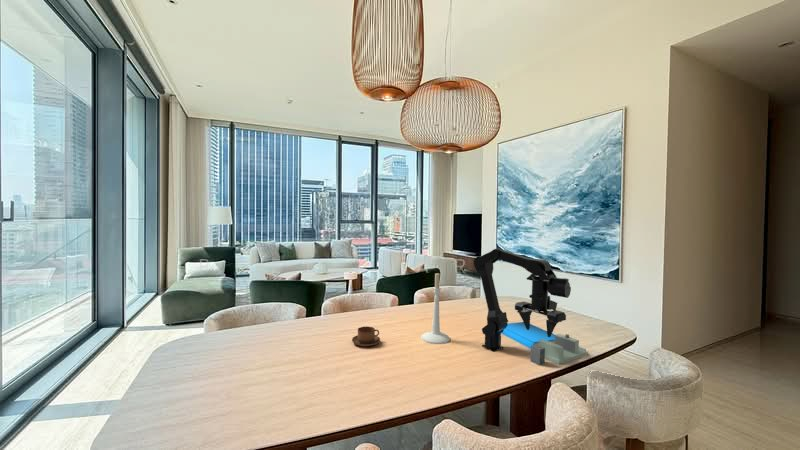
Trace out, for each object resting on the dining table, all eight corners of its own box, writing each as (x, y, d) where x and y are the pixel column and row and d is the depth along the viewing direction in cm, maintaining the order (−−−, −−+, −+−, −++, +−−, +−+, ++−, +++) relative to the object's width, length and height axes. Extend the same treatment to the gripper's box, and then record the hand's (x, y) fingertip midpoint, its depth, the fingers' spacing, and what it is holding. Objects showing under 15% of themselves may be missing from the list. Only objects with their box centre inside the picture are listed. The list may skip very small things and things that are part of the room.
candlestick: (440, 346, 144) (442, 276, 143) (415, 339, 151) (417, 272, 151) (454, 338, 154) (456, 272, 153) (431, 331, 162) (432, 269, 161)
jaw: (574, 353, 136) (575, 338, 136) (554, 346, 143) (555, 332, 143) (578, 352, 137) (579, 337, 137) (558, 345, 145) (559, 331, 145)
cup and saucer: (366, 336, 154) (366, 323, 154) (385, 343, 146) (386, 329, 146) (346, 343, 144) (346, 329, 144) (365, 351, 137) (366, 336, 137)
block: (539, 365, 127) (540, 349, 127) (530, 361, 131) (530, 346, 130) (544, 363, 129) (545, 348, 129) (535, 360, 132) (535, 344, 132)
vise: (558, 364, 129) (559, 349, 128) (533, 354, 138) (534, 340, 138) (588, 354, 139) (588, 340, 139) (562, 345, 148) (563, 332, 148)
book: (524, 321, 171) (564, 337, 147) (524, 330, 171) (564, 347, 147) (496, 324, 165) (533, 341, 141) (496, 333, 165) (533, 351, 141)
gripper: (575, 295, 125) (573, 337, 126) (532, 286, 141) (530, 323, 142) (557, 299, 120) (555, 342, 120) (514, 288, 135) (513, 327, 136)
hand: (538, 333), depth 129 cm, fingers open, 9 cm apart
